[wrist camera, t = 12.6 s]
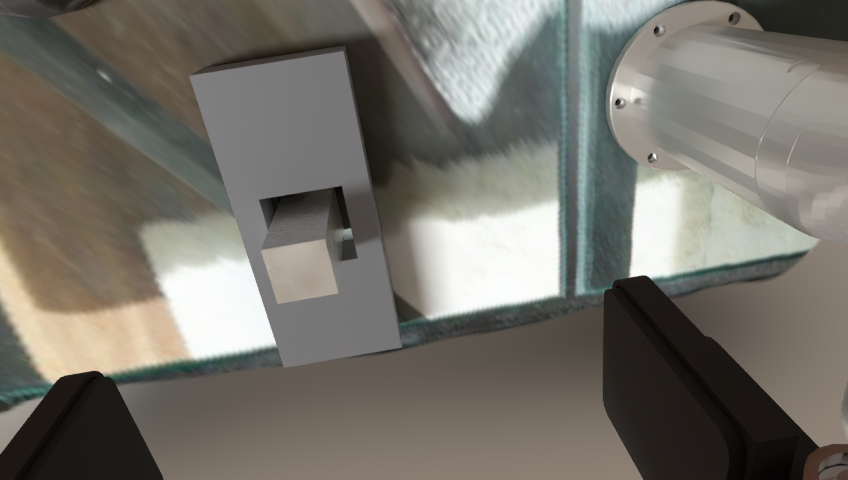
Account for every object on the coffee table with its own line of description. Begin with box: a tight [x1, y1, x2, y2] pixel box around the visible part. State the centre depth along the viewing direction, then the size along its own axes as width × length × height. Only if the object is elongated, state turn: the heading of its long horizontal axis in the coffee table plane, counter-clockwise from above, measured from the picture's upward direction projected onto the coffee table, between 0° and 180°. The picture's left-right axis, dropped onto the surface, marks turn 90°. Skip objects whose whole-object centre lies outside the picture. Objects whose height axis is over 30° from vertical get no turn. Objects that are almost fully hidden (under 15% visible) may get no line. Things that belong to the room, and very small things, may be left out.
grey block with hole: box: [189, 45, 402, 368], centre depth 41 cm, size 10×24×4 cm, turn 8°
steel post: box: [261, 187, 344, 304], centre depth 39 cm, size 4×4×10 cm
